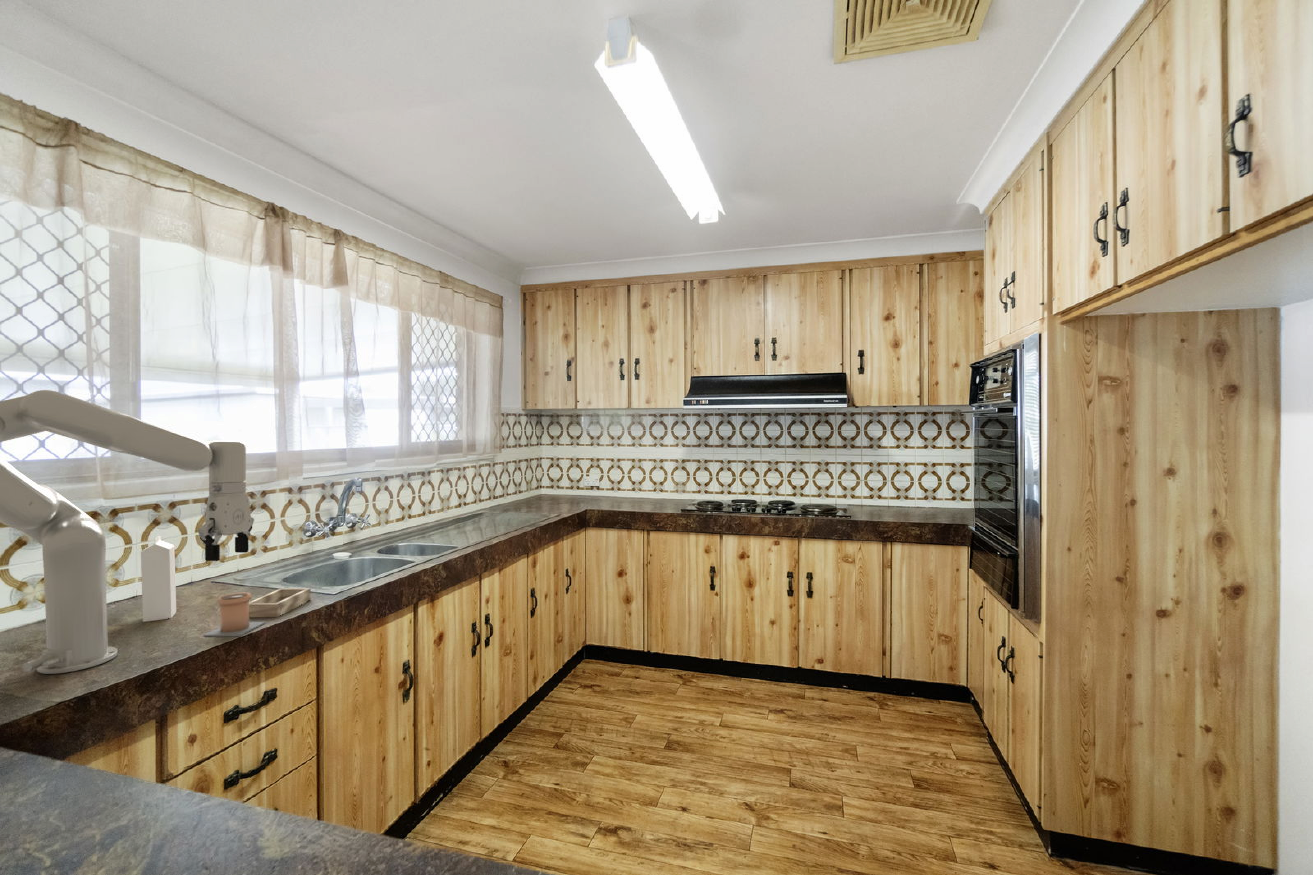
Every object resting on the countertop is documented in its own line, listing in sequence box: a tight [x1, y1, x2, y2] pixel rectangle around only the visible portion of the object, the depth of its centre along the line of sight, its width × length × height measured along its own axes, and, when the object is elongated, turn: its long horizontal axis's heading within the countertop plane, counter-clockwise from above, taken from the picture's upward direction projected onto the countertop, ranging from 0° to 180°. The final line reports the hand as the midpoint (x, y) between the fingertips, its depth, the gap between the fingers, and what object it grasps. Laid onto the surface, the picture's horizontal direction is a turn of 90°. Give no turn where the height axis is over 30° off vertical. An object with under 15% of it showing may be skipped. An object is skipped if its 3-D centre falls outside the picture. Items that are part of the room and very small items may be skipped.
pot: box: [216, 591, 252, 633], centre depth 147 cm, size 7×7×8 cm
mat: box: [203, 621, 266, 637], centre depth 148 cm, size 9×9×1 cm
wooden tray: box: [249, 587, 312, 618], centre depth 165 cm, size 15×9×4 cm, turn 0°
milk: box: [140, 534, 177, 623], centre depth 158 cm, size 6×6×22 cm
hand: (227, 556), depth 147 cm, fingers open, 9 cm apart
